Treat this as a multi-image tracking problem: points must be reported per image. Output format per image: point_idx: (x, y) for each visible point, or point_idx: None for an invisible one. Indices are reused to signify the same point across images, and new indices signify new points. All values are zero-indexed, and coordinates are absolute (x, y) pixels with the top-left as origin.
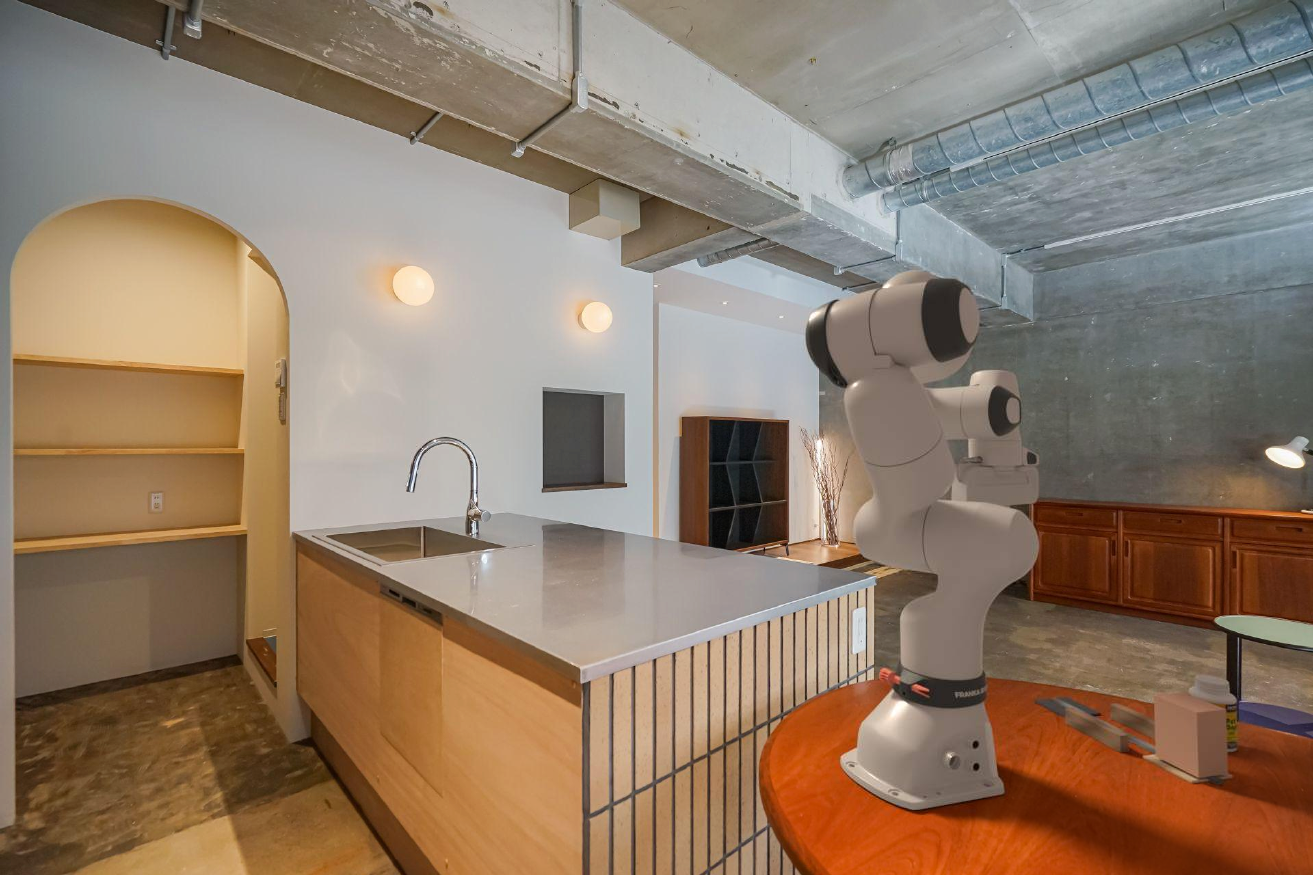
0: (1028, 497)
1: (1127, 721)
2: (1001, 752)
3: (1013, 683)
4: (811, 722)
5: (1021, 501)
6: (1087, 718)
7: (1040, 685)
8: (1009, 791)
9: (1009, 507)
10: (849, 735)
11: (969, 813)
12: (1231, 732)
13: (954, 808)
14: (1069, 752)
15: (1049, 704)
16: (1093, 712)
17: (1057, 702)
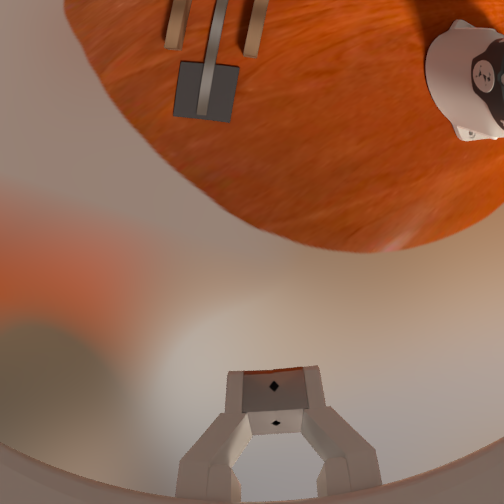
0: (18, 487)
1: (184, 26)
2: (401, 53)
3: (198, 181)
4: (488, 200)
5: (77, 492)
6: (259, 25)
7: (167, 163)
8: (449, 18)
9: (180, 483)
10: (485, 163)
11: None
12: None
13: None
14: (330, 12)
15: (222, 104)
16: (189, 66)
17: (208, 102)
